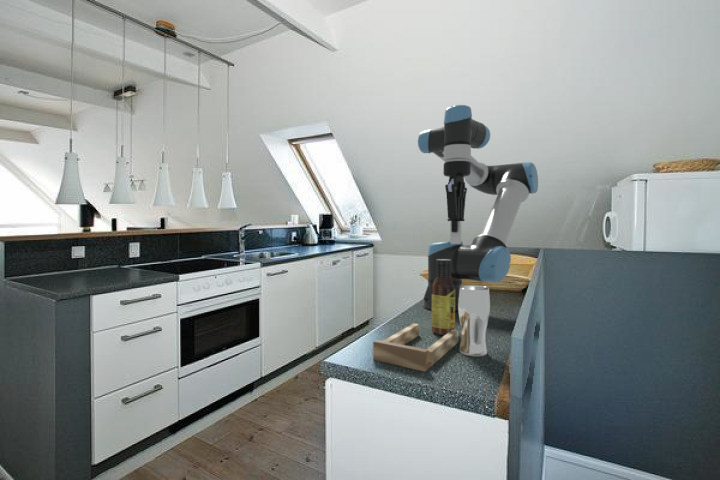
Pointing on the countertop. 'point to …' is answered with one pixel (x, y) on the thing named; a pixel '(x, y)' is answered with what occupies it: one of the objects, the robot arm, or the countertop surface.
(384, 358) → the bracket
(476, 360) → the countertop surface
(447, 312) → the sauce bottle
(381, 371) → the countertop surface
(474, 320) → the beer glass
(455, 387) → the countertop surface
